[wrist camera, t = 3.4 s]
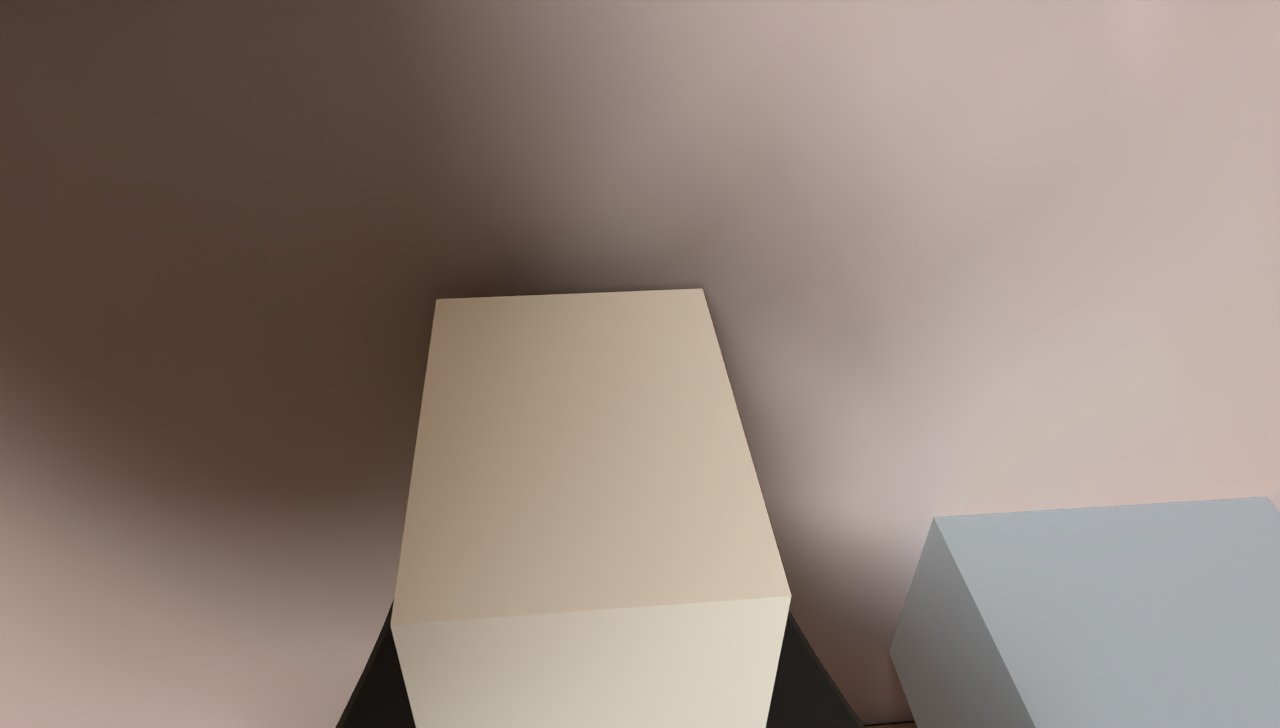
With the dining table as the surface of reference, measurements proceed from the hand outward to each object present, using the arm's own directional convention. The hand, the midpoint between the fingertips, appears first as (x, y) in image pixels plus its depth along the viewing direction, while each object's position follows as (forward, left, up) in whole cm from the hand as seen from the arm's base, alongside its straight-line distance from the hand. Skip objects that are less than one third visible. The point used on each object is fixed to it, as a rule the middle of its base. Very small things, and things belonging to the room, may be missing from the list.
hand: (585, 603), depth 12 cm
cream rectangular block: (0, 0, -2) cm, 2 cm away
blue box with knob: (-9, +3, -2) cm, 10 cm away
